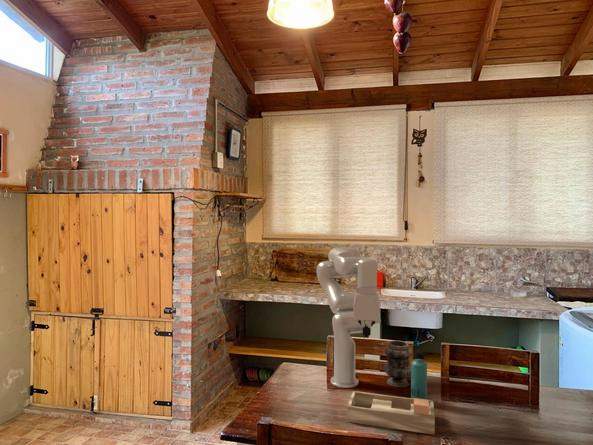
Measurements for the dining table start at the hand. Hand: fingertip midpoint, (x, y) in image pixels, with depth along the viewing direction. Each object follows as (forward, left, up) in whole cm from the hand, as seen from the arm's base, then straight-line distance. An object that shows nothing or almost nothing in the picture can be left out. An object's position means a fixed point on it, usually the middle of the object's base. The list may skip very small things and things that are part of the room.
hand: (366, 336), depth 160 cm
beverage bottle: (-10, +20, -27) cm, 35 cm away
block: (+11, +21, -23) cm, 33 cm away
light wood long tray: (+8, +10, -27) cm, 30 cm away
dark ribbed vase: (-27, +11, -27) cm, 40 cm away
